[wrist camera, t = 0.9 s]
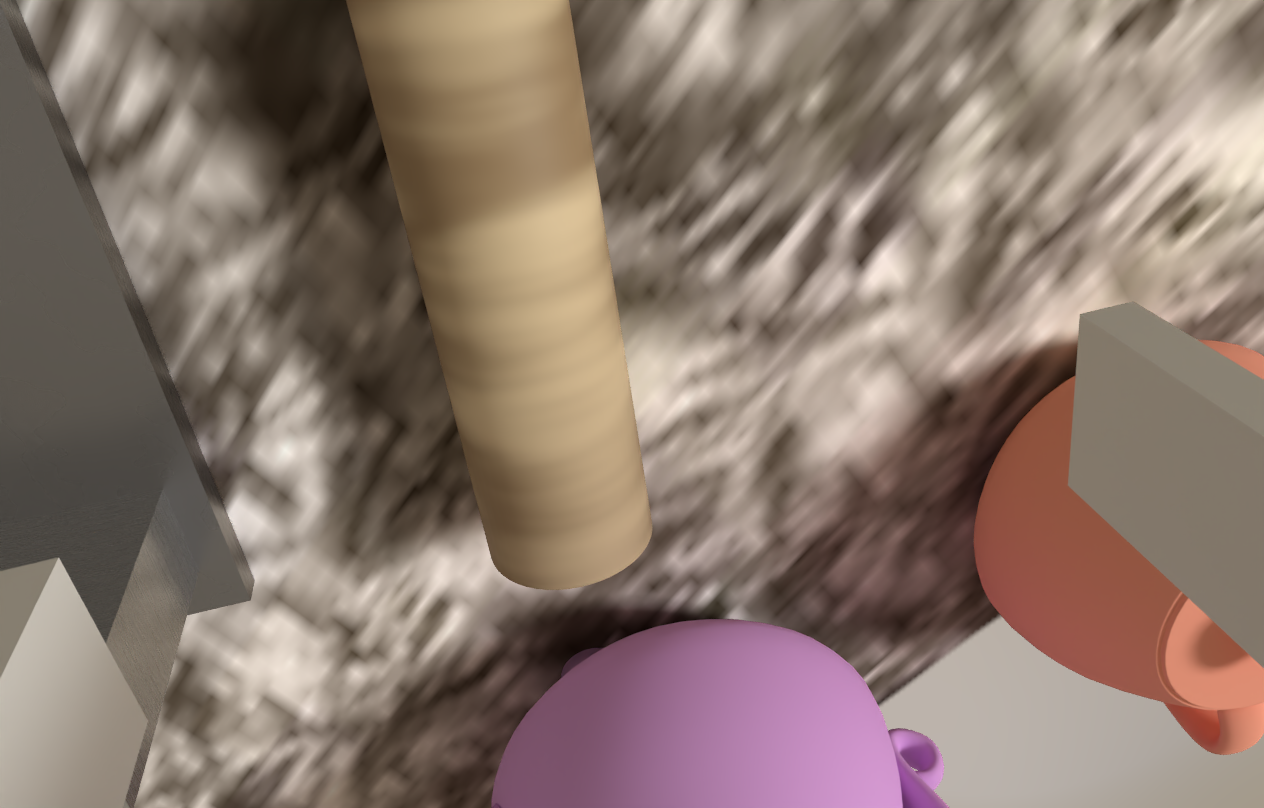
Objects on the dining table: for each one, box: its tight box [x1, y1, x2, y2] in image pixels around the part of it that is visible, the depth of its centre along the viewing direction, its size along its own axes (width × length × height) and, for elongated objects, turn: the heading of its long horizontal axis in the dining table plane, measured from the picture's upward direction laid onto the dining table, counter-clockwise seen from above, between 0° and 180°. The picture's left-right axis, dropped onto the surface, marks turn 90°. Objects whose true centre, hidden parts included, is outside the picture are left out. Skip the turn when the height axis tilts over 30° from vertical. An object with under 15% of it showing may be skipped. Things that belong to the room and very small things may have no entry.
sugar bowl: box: [974, 340, 1264, 755], centre depth 33 cm, size 12×14×10 cm
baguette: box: [346, 0, 652, 590], centre depth 26 cm, size 22×5×5 cm, turn 8°
